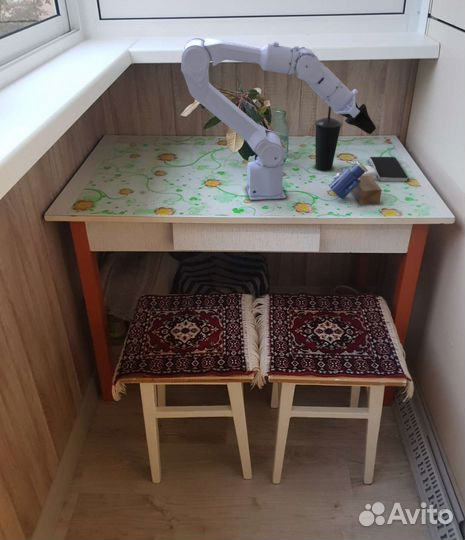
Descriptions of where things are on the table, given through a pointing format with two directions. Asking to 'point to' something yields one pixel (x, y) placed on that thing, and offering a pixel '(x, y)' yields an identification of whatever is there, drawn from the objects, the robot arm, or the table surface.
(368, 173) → the eye dropper bottle
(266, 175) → the robot arm
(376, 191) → the oak block
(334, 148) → the drinking cup
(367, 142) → the table surface
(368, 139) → the table surface
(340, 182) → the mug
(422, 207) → the table surface
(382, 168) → the smartphone
